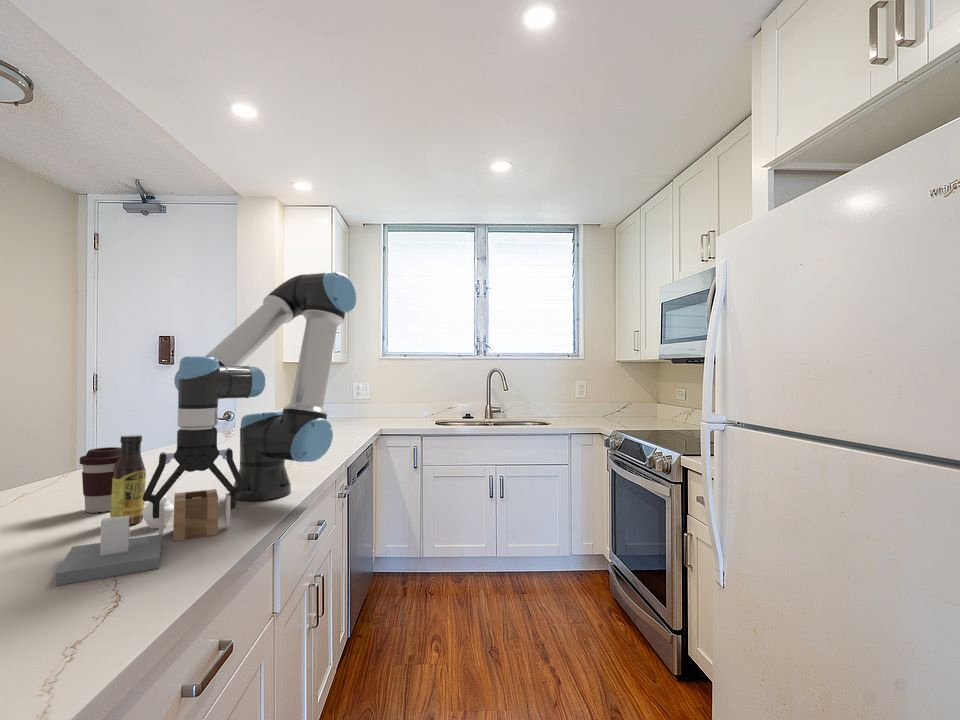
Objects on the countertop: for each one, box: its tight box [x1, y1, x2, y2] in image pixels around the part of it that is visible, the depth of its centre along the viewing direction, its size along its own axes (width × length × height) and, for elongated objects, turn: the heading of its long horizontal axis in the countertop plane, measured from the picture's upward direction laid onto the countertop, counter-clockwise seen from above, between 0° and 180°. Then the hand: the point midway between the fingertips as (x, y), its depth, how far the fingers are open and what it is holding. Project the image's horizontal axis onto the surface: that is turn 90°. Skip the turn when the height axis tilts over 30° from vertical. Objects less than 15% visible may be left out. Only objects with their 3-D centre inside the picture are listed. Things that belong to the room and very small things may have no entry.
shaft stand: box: [55, 515, 163, 587], centre depth 89 cm, size 14×14×8 cm
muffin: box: [142, 495, 174, 529], centre depth 110 cm, size 6×6×7 cm
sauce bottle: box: [109, 434, 147, 526], centre depth 113 cm, size 7×6×20 cm
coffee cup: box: [79, 446, 121, 514], centre depth 123 cm, size 10×10×15 cm
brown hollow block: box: [172, 488, 219, 542], centre depth 106 cm, size 8×8×8 cm
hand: (195, 528), depth 106 cm, fingers open, 12 cm apart
